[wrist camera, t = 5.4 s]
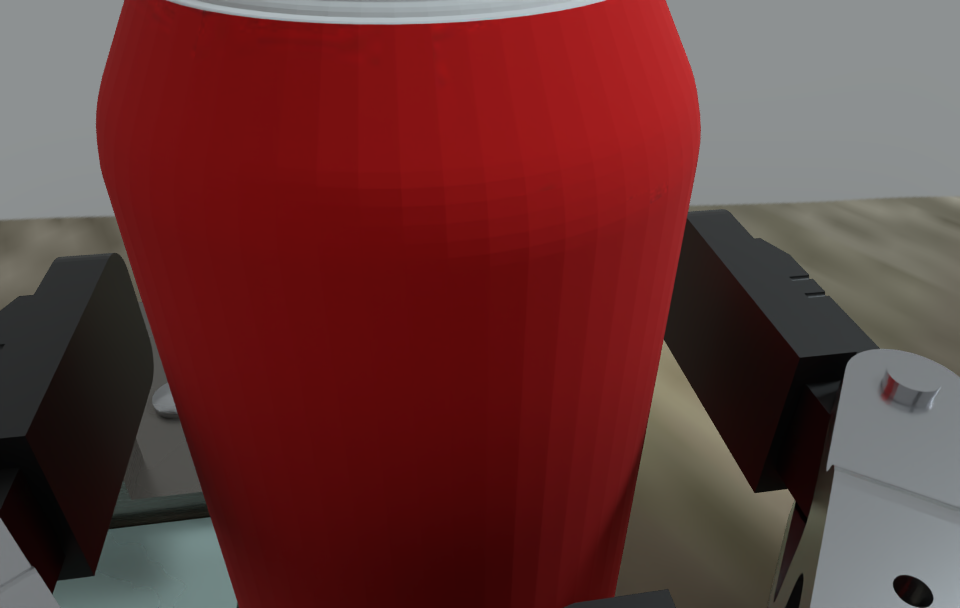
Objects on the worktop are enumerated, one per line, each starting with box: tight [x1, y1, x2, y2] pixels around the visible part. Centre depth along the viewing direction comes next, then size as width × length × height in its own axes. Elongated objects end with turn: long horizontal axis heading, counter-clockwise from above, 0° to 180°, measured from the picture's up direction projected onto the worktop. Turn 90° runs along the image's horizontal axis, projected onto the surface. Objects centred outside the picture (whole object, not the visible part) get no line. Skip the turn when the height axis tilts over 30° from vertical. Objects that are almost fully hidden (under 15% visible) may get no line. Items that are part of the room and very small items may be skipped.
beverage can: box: [96, 0, 701, 608], centre depth 10 cm, size 6×6×12 cm
